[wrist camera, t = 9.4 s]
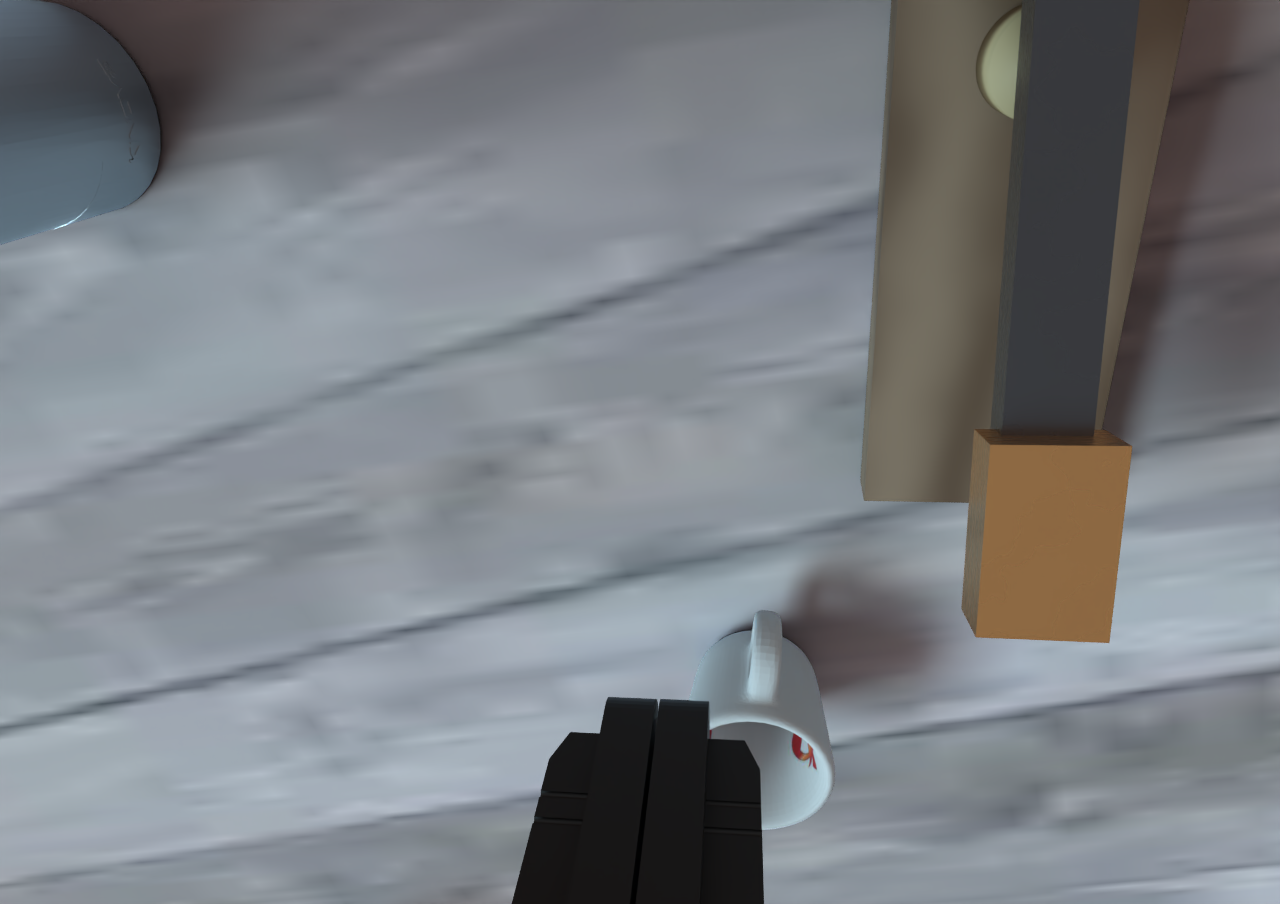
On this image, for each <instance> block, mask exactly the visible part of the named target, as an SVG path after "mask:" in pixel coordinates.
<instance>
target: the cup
mask: <svg viewBox="0 0 1280 904" xmlns="http://www.w3.org/2000/svg"><path fill="white" fill-rule="evenodd" d="M689 700H693V701H709V706H710V739H726V740H745V742H746V744H747V746H748V747H749V749H750V751H751V753H752V755H753V757H754V759H755V761H756V763H757V764H758V766H759V768H760V777H761V815H762V830H766V829H777V828H783V827H787V826H791V825H793V824H796V823H799V822H801V821H803V820H805V819H807V818H809V817H810V816H812V815H813V814H815V813H816V812H817V811H818V810H819V809H820V808H821V807H822V806H823V805H824V804H825V802H826V801H827V800H828V798H829V796H830V794H831V792H832V790H833V786H834V781H835V765H834V759H833V754H832V750H831V745H830V740H829V735H828V730H827V726H826V721H825V716H824V711H823V706H822V701H821V697H820V692H819V687H818V683H817V679H816V675H815V672H814V670H813V668H812V665H811V663H810V662H809V660H808V658H807V657H806V655H805V654H804V653H803V652H802V651H801V649H799V648H798V647H797V646H796V645H795V644H794V643H792V642H791V641H789V640H787V639H786V638H784V637H782V623H781V618H780V616H779V615H778V614H777V613H775V612H771V611H758V612H757V613H756V614H755V616H754V622H753V629H752V631H742V632H738V633H734V634H731V635H729V636H726V637H724V638H722V639H721V640H719V641H718V642H717V643H715V644H714V645H713V646H712V647H711V648H710V649H709V650H708V652H707V653H706V654H705V656H704V657H703V659H702V661H701V663H700V665H699V668H698V670H697V674H696V677H695V680H694V684H693V688H692V691H691V695H690V699H689Z"/></svg>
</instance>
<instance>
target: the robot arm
mask: <svg viewBox="0 0 1280 904" xmlns="http://www.w3.org/2000/svg"><path fill="white" fill-rule="evenodd" d="M160 151H161V145H160V126H159V121H158V116H157V111H156V107H155V104H154V101H153V99H152V96H151V94H150V91H149V88H148V86H147V84H146V82H145V80H144V78H143V77H142V75H141V73H140V71H139V70H138V68H137V66H136V65H135V63H134V61H133V60H132V59H131V58H130V56H129V55H128V54H127V53H126V51H125V50H124V49H123V48H122V46H121V45H120V44H119V43H118V42H117V41H116V40H115V39H114V38H113V37H112V36H111V35H110V34H109V33H107V32H106V31H105V30H104V29H103V28H102V27H101V26H100V25H98V24H97V23H95V22H94V21H92V20H91V19H89V18H87V17H86V16H84V15H83V14H81V13H80V12H78V11H75V10H73V9H70V8H68V7H65V6H63V5H60V4H57V3H51V2H45V1H39V0H0V245H2V244H5V243H8V242H12V241H15V240H18V239H22V238H25V237H28V236H32V235H35V234H38V233H41V232H45V231H48V230H51V229H55V228H59V227H62V226H66V225H69V224H72V223H75V222H79V221H82V220H85V219H88V218H91V217H95V216H98V215H101V214H104V213H108V212H111V211H114V210H117V209H120V208H124V207H126V206H127V205H129V204H130V203H132V202H134V201H135V200H137V199H138V198H139V197H140V196H141V195H142V194H143V193H144V191H145V190H146V189H147V188H148V187H149V185H150V183H151V181H152V179H153V177H154V175H155V173H156V170H157V166H158V161H159V156H160ZM512 904H764V891H763V853H762V815H761V777H760V768H759V766H758V764H757V763H756V761H755V759H754V757H753V755H752V753H751V751H750V749H749V747H748V746H747V744H746V742H745V740H726V739H710V706H709V701H693V700H670V699H661V700H660V703H659V710H658V702H657V699H641V698H619V697H608V699H607V701H606V705H605V710H604V715H603V720H602V725H601V730H600V734H597V733H577V732H570V733H569V735H568V736H567V737H566V738H565V740H564V741H563V742H562V743H561V745H560V746H559V747H558V748H557V750H556V751H555V752H554V754H553V755H552V756H551V757H550V759H549V762H548V766H547V770H546V773H545V777H544V781H543V785H542V789H541V797H539V800H538V804H537V808H536V812H535V816H534V823H533V824H532V828H531V831H530V835H529V839H528V843H527V847H526V851H525V855H524V859H523V862H522V866H521V870H520V874H519V878H518V882H517V886H516V889H515V893H514V897H513V901H512Z"/></svg>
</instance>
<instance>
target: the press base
mask: <svg viewBox="0 0 1280 904" xmlns="http://www.w3.org/2000/svg"><path fill="white" fill-rule="evenodd" d="M1188 4H1189V0H1140V2H1139V12H1138V21H1137V31H1136V40H1135V50H1134V59H1133V69H1132V78H1131V88H1130V97H1129V107H1128V116H1127V126H1126V135H1125V145H1124V154H1123V164H1122V173H1121V183H1120V192H1119V202H1118V211H1117V221H1116V230H1115V240H1114V249H1113V259H1112V268H1111V278H1110V287H1109V297H1108V306H1107V316H1106V325H1105V335H1104V344H1103V354H1102V363H1101V373H1100V383H1099V392H1098V402H1097V411H1096V421H1095V430H1102V426H1103V421H1104V416H1105V411H1106V406H1107V401H1108V396H1109V391H1110V387H1111V382H1112V377H1113V372H1114V367H1115V362H1116V357H1117V352H1118V347H1119V342H1120V338H1121V333H1122V328H1123V323H1124V318H1125V313H1126V308H1127V303H1128V298H1129V293H1130V289H1131V284H1132V279H1133V274H1134V269H1135V264H1136V259H1137V254H1138V249H1139V244H1140V240H1141V235H1142V230H1143V225H1144V220H1145V215H1146V210H1147V205H1148V200H1149V195H1150V191H1151V186H1152V181H1153V176H1154V171H1155V166H1156V161H1157V156H1158V151H1159V146H1160V142H1161V137H1162V132H1163V127H1164V122H1165V117H1166V112H1167V107H1168V102H1169V97H1170V93H1171V88H1172V83H1173V78H1174V73H1175V68H1176V63H1177V58H1178V53H1179V48H1180V44H1181V39H1182V34H1183V29H1184V24H1185V19H1186V14H1187V9H1188ZM1021 11H1022V0H892V1H891V17H890V32H889V48H888V63H887V79H886V94H885V110H884V125H883V140H882V156H881V171H880V187H879V202H878V218H877V233H876V249H875V264H874V280H873V295H872V310H871V326H870V341H869V357H868V372H867V388H866V403H865V419H864V434H863V450H862V465H861V486H862V492H863V497H864V501H910V502H961V503H969V496H970V481H971V467H972V453H973V439H974V429H990V426H991V413H992V399H993V386H994V373H995V359H996V346H997V333H998V319H999V306H1000V292H1001V279H1002V266H1003V252H1004V239H1005V225H1006V212H1007V199H1008V185H1009V172H1010V159H1011V145H1012V132H1013V118H1014V105H1015V92H1016V78H1017V65H1018V52H1019V38H1020V25H1021Z"/></svg>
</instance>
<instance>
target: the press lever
mask: <svg viewBox="0 0 1280 904" xmlns="http://www.w3.org/2000/svg"><path fill="white" fill-rule="evenodd" d="M1139 2H1140V0H1022V11H1021V25H1020V38H1019V52H1018V65H1017V78H1016V92H1015V105H1014V118H1013V132H1012V145H1011V159H1010V172H1009V185H1008V199H1007V212H1006V225H1005V239H1004V252H1003V266H1002V279H1001V292H1000V306H999V319H998V333H997V346H996V359H995V373H994V386H993V399H992V413H991V426H990V429H974V439H973V453H972V467H971V481H970V496H969V510H968V524H967V538H966V553H965V567H964V581H963V596H962V611H963V613H964V615H965V617H966V619H967V621H968V623H969V625H970V627H971V629H972V631H973V633H974V635H975V637H982V638H1006V639H1030V640H1053V641H1077V642H1100V643H1109V641H1110V632H1111V624H1112V615H1113V607H1114V598H1115V589H1116V581H1117V572H1118V564H1119V555H1120V547H1121V538H1122V529H1123V521H1124V512H1125V504H1126V495H1127V487H1128V478H1129V469H1130V461H1131V452H1132V446H1131V445H1129V444H1128V443H1126V442H1124V441H1123V440H1121V439H1119V438H1118V437H1116V436H1114V435H1113V434H1111V433H1109V432H1107V431H1106V430H1095V421H1096V411H1097V402H1098V392H1099V383H1100V373H1101V363H1102V354H1103V344H1104V335H1105V325H1106V316H1107V306H1108V297H1109V287H1110V278H1111V268H1112V259H1113V249H1114V240H1115V230H1116V221H1117V211H1118V202H1119V192H1120V183H1121V173H1122V164H1123V154H1124V145H1125V135H1126V126H1127V116H1128V107H1129V97H1130V88H1131V78H1132V69H1133V59H1134V50H1135V40H1136V31H1137V21H1138V12H1139Z"/></svg>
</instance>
